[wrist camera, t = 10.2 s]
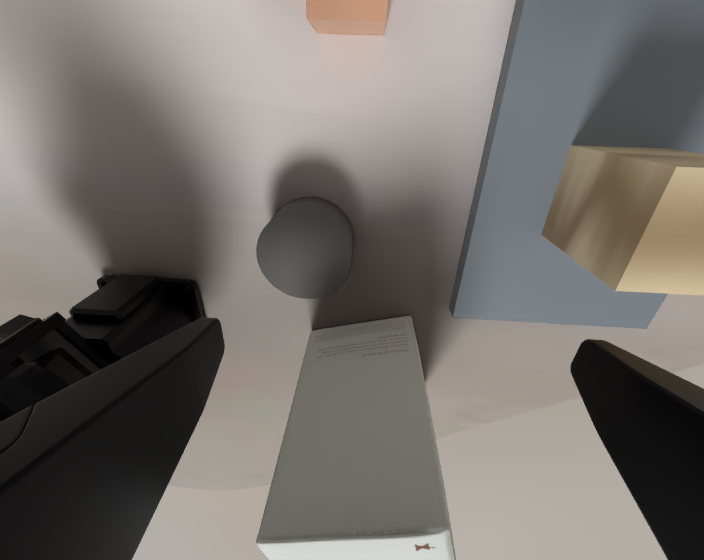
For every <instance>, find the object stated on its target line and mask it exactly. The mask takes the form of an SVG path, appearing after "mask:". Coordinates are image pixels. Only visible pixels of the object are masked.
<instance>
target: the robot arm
mask: <svg viewBox="0 0 704 560" xmlns="http://www.w3.org/2000/svg"><path fill="white" fill-rule="evenodd" d="M107 283H108V284H107ZM97 285H98V287H99V290H97V291H96V292H94V293H93V294H91V295H90V296H88V297H87V298H85V299H84V300H82V301H81V302H79V303H78V304H76V305H75V306H74V307H72V309H71V310H70V311H69V312H70V315H71V317H70V318H68V319H67V320H66V319H65V318H64V317H63V316H61V315H60V314H59V313H58V312H56V313H54V314H52V315H50V316H48V317H47V318H45V319H43V320H41V319H40V318H36V319H35V318H32V317H28V316H24V315H18V316H17V317H15V318H13V319H11V320H10V321H8V322H6V323H5V324H3V325H1V326H0V560H132V558H133V556H134V554H135V552H136V550H137V548H138V545H139V544H140V541H141V539H142V537H143V535H144V533H145V531H146V529H147V527H148V525H149V523H150V520H151V519H152V517H153V514H154V512H155V510H156V508H157V506H158V504H159V502H160V500H161V498H162V496H163V494H164V491H165V489H166V487H167V485H168V483H169V481H170V479H171V477H172V475H173V473H174V471H175V469H176V467H177V465H178V462H179V460H180V458H181V456H182V454H183V452H184V450H185V448H186V446H187V444H188V442H189V440H190V437H191V435H192V433H193V431H194V429H195V427H196V425H197V423H198V421H199V419H200V416H201V414H202V412H203V410H204V407H205V405H206V402H207V399H208V397H209V394H210V391H211V388H212V385H213V382H214V379H215V377H216V374H217V371H218V368H219V365H220V362H221V360H222V357H223V354H224V339H223V334H222V328H221V323H220V321H219V320H218V319H217V318H205V317H204V313H203V309H202V304H201V300H200V296H199V291H198V287H197V285H196V283H195V282H193V281H192V280H184V279H166V278H160V277H157V276H141V275H123V274H122V275H119V276H112V275H104V276H103V277H101V278H99V279H98V280H97ZM186 286H188V287H189V288H190V289H191V290H190V289H188V288H187V287H186ZM571 374H572V377H573V379H574V381H575V383H576V386H577V388H578V390H579V392H580V395H581V397H582V399H583V401H584V404H585V406H586V408H587V411H588V413H589V415H590V417H591V420H592V422H593V424H594V426H595V428H596V431H597V432H598V434H599V436H600V438H601V440H602V442H603V444H604V446H605V448H606V449H607V451H608V453H609V455H610V457H611V458H612V460H613V462H614V463H615V466H616V467H617V469H618V471H619V473H620V475H621V476H622V478H623V480H624V482H625V483H626V485H627V487H628V489H629V491H630V492H631V494H632V496H633V498H634V500H635V501H636V503H637V505H638V507H639V509H640V510H641V512H642V514H643V516H644V518H645V519H646V521H647V523H648V525H649V526H650V528H651V530H652V532H653V534H654V535H655V537H656V539H657V541H658V543H659V545H660V546H661V548H662V550H663V552H664V554H665V555H666V557H667V559H668V560H704V389H703V388H701V387H699V386H697V385H695V384H693V383H691V382H689V381H687V380H684V379H682V378H680V377H678V376H676V375H674V374H672V373H670V372H668V371H666V370H664V369H662V368H660V367H658V366H656V365H654V364H652V363H650V362H648V361H646V360H644V359H642V358H640V357H637V356H635V355H633V354H631V353H629V352H627V351H625V350H623V349H621V348H619V347H617V346H615V345H613V344H611V343H609V342H607V341H604V340H591V339H587V340H585V341H583V342H582V343H581V345H580V347H579V349H578V351H577V353H576V355H575V357H574V359H573V361H572V363H571Z"/></svg>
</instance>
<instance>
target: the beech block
mask: <svg viewBox="0 0 704 560" xmlns="http://www.w3.org/2000/svg"><path fill="white" fill-rule="evenodd" d="M541 235H542V236H544V237H545V238H546V239H548V240H549V241H550V242H552V243H553V244H554V245H555V246H557V247H558V248H559V249H561V250H562V251H563V252H565V253H566V254H567V255H569V256H570V257H571V258H572V259H574V260H575V261H576V262H578V263H579V264H580V265H582V266H583V267H584V268H586V269H587V270H588V271H590V272H591V273H592V274H593V275H595V276H596V277H597V278H599V279H600V280H601V281H603V282H604V283H605V284H607V285H608V286H609V287H610V288H612V289H613V290H614V291H625V292H646V293H667V294H688V295H704V154H702V153H695V152H688V151H682V150H675V149H666V148H636V147H605V146H575V145H571V146H570V149H569V152H568V155H567V158H566V161H565V164H564V167H563V170H562V173H561V176H560V179H559V182H558V185H557V188H556V191H555V195H554V198H553V201H552V204H551V207H550V210H549V213H548V216H547V219H546V222H545V225H544V228H543V231H542V234H541Z"/></svg>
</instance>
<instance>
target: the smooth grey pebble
mask: <svg viewBox="0 0 704 560" xmlns="http://www.w3.org/2000/svg"><path fill="white" fill-rule="evenodd" d="M353 245H354V233H353V228H352V225H351V223H350V221H349V219H348V217H347V216H346V215H345V213H344V212H343V211H342V210H341V209H340V208H339V207H338V206H336V205H335V204H333V203H331V202H330V201H327V200H325V199H322V198H318V197H302V198H298V199H295V200H292V201H290V202H289V203H287V204H286V205H284V206H283V207H282V208H281V209H280V210H279V212H278V213H277V214H276V215H275V216H274V217H273V218H272V220H271V221H270V222H269V223H268V224H267V225H266V226H265V228H264V229H263V231H262V232H261V234H260V236H259V239H258V242H257V250H256V251H257V260H258V263H259V266H260V269H261V271H262V273H263V274H264V276H265V277H266V278H267V280H268V281H269V282H270V283H271V284H272V285H273V286H275V287H276V288H277V289H279V290H280V291H282V292H284V293H286V294H288V295H291V296H294V297H298V298H305V299H312V298H319V297H323V296H326V295H328V294H330V293H332V292H334V291H335V290H337V289H338V288H339V287H340V286H341V285H342V284H343V282H344V281H345V280H346V278H347V276H348V274H349V271H350V267H351V260H352V253H353Z"/></svg>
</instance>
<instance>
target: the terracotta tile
mask: <svg viewBox="0 0 704 560" xmlns="http://www.w3.org/2000/svg"><path fill="white" fill-rule="evenodd" d="M306 9H307V20H308V21H309V23H310V24H311V25H312V27H313V28H314V29H315V31H316V32H317V33H318V34H341V35H374V36H384V33H385V28H386V23H387V10H388V0H306Z"/></svg>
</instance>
